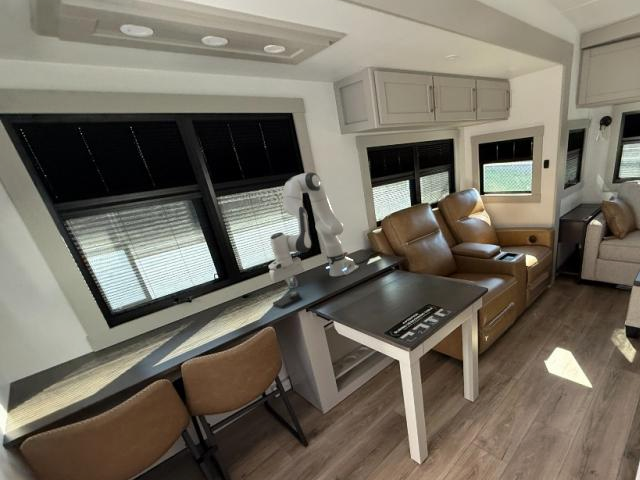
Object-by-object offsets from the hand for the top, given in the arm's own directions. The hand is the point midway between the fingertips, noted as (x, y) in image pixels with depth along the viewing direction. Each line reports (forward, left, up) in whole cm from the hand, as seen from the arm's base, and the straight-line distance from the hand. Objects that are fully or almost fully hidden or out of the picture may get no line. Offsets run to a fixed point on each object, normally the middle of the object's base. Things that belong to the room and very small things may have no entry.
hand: (290, 283), depth 185 cm
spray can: (-14, -22, -11) cm, 29 cm away
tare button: (0, 0, -7) cm, 7 cm away
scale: (+4, -2, -11) cm, 12 cm away
